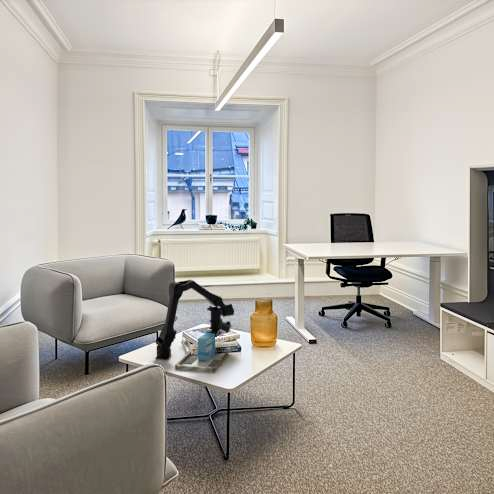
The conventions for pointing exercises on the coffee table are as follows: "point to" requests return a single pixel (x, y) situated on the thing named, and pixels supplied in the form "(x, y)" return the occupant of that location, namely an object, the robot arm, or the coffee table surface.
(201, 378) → the coffee table surface
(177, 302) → the robot arm
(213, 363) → the trap pads
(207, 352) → the data package
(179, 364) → the grey tray
